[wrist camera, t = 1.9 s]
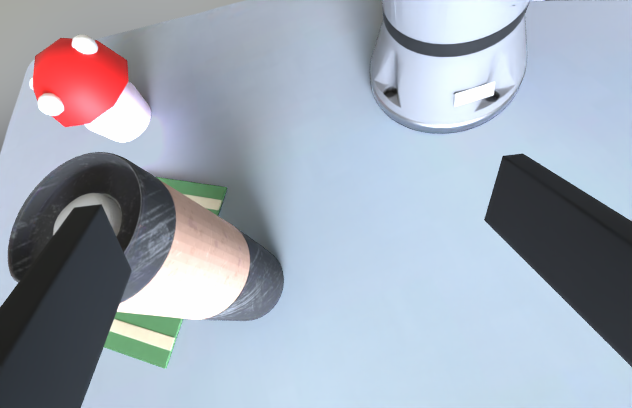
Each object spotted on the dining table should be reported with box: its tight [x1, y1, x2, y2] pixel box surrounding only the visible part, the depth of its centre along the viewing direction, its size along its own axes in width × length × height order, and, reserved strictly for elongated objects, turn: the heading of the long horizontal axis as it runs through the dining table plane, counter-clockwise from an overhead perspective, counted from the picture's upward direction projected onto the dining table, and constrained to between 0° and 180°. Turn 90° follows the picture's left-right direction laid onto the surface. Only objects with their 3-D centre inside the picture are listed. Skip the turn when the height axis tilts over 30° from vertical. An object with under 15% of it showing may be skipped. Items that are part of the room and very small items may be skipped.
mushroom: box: [30, 34, 151, 143], centre depth 41 cm, size 11×11×12 cm
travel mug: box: [8, 152, 284, 321], centre depth 25 cm, size 8×8×20 cm
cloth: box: [104, 177, 227, 368], centre depth 38 cm, size 19×12×1 cm, turn 165°
